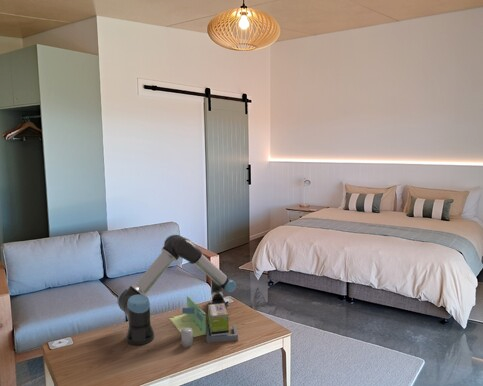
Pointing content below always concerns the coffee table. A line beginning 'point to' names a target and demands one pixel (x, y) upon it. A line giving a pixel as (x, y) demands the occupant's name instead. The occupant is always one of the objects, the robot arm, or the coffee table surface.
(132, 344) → the robot arm
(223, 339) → the frame
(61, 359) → the coffee table surface
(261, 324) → the coffee table surface
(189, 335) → the grey rounded cylinder
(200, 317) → the display stand
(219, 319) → the tea box
